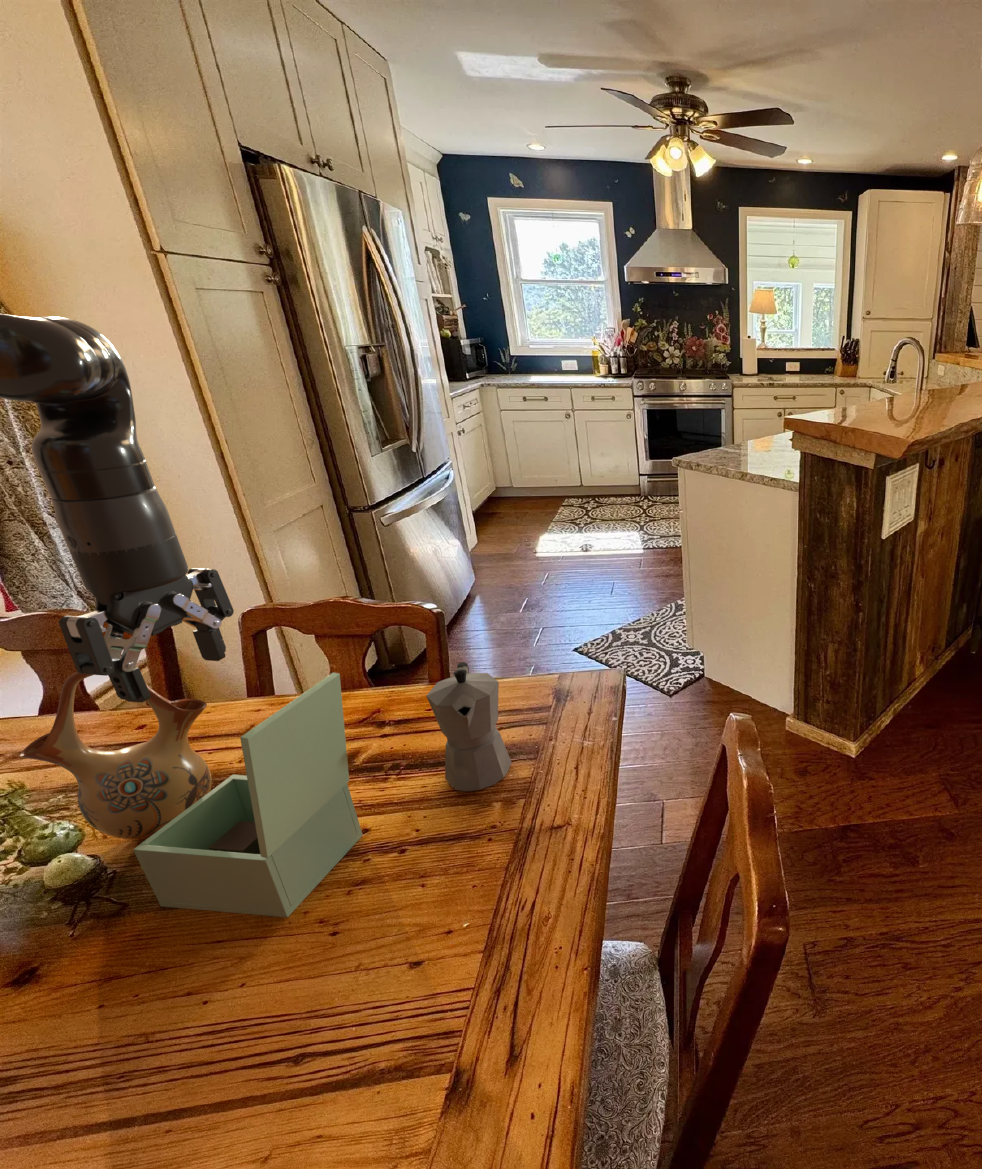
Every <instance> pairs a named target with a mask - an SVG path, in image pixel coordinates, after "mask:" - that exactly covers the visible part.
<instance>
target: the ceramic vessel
mask: <svg viewBox="0 0 982 1169" xmlns="http://www.w3.org/2000/svg"><path fill="white" fill-rule="evenodd" d="M92 676H93V675H90V674H80V673H78V672H77V671H75V672H74V673H72V674H70V675H69V676H68V677H67V678H66V679H65V681H64V682H63V684H62V688H61V692H60V696H59V701H58V706H57V711H56V714H55V715H56V716H55V718H54V722H53V724H52V727H51V729H50V731H49V732H47V733H45V734H43V735H41V736H39V737H38V738H36V739H35V740H33V741H32V742H30V743H29V744H28V745H26V747H25V748H24V749H23V750H22V751H21V752H20V754H19V755H20V756H19V757H22V758H24V759H31V760H35V761H42V762H46V763H50V764H53V765H56V766H59V767H61V768H63V769H65V770H66V771H68V772H70V774H72V775H73V776H74V778H75V780H76V782H77V785H78V786H77V787H78V790H77V805H78V809H79V811H80V814H81V816H82V817H83V819H84V820H85V821H86V822H87V823H88V825H90V826H91V827H92V828H93V829H95V830H96V831H98V832H100V833H102V834H104V835H106V836H109V837H112V838H116V839H121V840H133V841H134V840H135V841H136V840H137V841H138V840H139V841H142V840H146V839H148V838H149V837H150V836H152V835H153V834H154V833H156V832H157V831H158V830H160V829H161V828H162V827H164V826H165V825H166V824H168V823H169V822H170V821H172V820H173V819H174V818H176V817H177V816H178V815H180V814H181V813H182V812H184V811H185V810H186V809H188V808H189V807H190V806H192V805H193V804H194V803H196V802H197V801H198V800H200V799H201V798H202V797H204V796H205V795H206V794H208V793H209V792H210V791H212V785H213V780H212V774H211V770H210V767H209V765H208V763H207V762H206V760H205V759H204V757H202V756H201V754H199V753H198V752H196V751H195V750H194V749H193V748H192V746H191V745H190V742H189V732H190V729H191V727H192V725H193V724H194V722H195V721H196V720H197V719H198V717H199V716H201V714H202V713H203V711H205V709H206V708H207V706H208V705H207V702H206V701H204V700H201V699H197V698H182V699H177V700H169V699H168V698H166V697H165V696H162V695H161V694H160V693H158V692H157V691H156V690H155V689H153V688H151V686H149V685H148V684H147V683H146V685H147V688H148V690H149V693H150V695H151V698H150V699H148V700H146V701H145V702H146V703H147V704H148V705H149V707H150V708H151V710H152V711H153V713H154V714H155V717H156V719H157V722H158V729H157V731H156V733H155V734H154V735H153V736H152V737H151V738H150V739H149V740H147V741H145V742H141V743H137V744H134V745H131V746H130V745H129V746H127V747H123V748H119V749H116V750H100V749H95V748H93V747H90V746H88V745H87V744H86V743H84V742H83V741H82V739H81V738H80V736H79V732H78V730H77V726H76V721H75V714H74V710H75V708H74V705H75V696H76V695H75V694H76V691H77V688H78V685H79V683H80V682H81V681H83V680H85V679H87V678H89V677H92Z"/></svg>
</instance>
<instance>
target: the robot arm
mask: <svg viewBox="0 0 982 1169" xmlns="http://www.w3.org/2000/svg"><path fill="white" fill-rule="evenodd" d="M131 387H132V386H131V383H130V377H129V375H128V371H127V369H126V366H125V364H124V361H123V359H122V357H121V356H120V353H119V352H118V350H117V349H116V348H115V346H114V345H113V344H112V343H111V341H110V340H109V339H108V338H106V337H105V335H104V334H102V333H101V332H99V331H98V330H97V329H95V328H94V327H92V326H90V325H88V324H86V323H84V322H81V321H78V320H75V319H71V318H68V317H61V316H51V315H50V316H21V315H20V316H19V315H13V314H6V313H1V312H0V399H4V400H9V401H10V400H11V401H16V402H22V403H29V404H35V405H36V409H37V413H38V417H39V421H40V429H39V431H38V432H37V433H36V435H34V438H33V439H32V440H31V443H30V444H31V445H30V446H31V453H32V457H33V460H34V462H35V465H36V468H37V470H38V472H39V474H40V477H41V479H42V482H43V483H44V486H45V487H46V491H47V493H48V495H49V498H51V499H50V500H51V503H52V506H53V509H54V515H55V519H56V523H57V525H58V528H59V530H60V532H61V534H62V537H63V539H64V542H65V544H66V546H67V548H68V551H69V553H70V555H71V557H72V560H73V563H74V564H75V567H76V569H77V571H78V574H79V576H80V578H81V581H82V584H83V585H84V587H85V588H86V589H87V591H88V592H90V594H91V595H92V596H93V597H94V599H95V609H94V610H93V611H90V612H87V613H84V614H81V615H64V616H62V617H61V618H60V619H59V621H58V625H59V628H60V630H61V633H62V635H63V638H64V641H65V643H66V645H67V649H68V652H69V654H70V656H71V660H72V662H73V664H74V668H75V671H76V672H78V673H80V674H90V675H92V676H108V678H109V681H110V682H111V685H112V687H113V689H114V691H115V694H116V696H117V697H118V698H119V699H120V700H122V701H123V700H125V701H127V702H129V703H142V704H143V703H144V702H147V701H146V700H148V699H150V698H151V695H150V693H149V690H148V688H147V685H148V684H147V683H146V680H145V678H144V675H143V674H142V672H141V669H140V667H137V664H138V661H139V659H140V654H141V652H142V650H144V649H146V648H147V647H148V644H149V643H150V639H151V637H152V636H156V635H158V634H160V633H162V632H164V631H165V630H166V629H167V628H171V627H176V626H178V625H180V624H183V623H185V624H187V625H189V626H190V627H192V628H195V629H194V630H192V632H191V633H192V634H193V637H194V640H195V642H196V645H197V648H198V650H199V653H200V656H201V658H202V659H203V660H204V661H207V662H210V661H211V662H212V661H213V662H220V661H222V660H223V659H225V658H226V652H227V646H226V643H225V640H224V637H223V635H222V632H221V630H220V627H221V626H222V621H223V620H224V619H226V618H230V617H233V615H234V612H235V611H234V608H233V605H232V603H231V600H230V598H229V595H228V593H227V591H226V588H225V586H224V583H223V581H222V578H221V576H220V574H219V571H218V570H217V569H214V568H205V567H191V568H189V566H188V563H187V561H186V557H185V555H184V552H183V549H182V546H181V544H180V541H179V537H178V536H177V532H176V530H175V527H174V525H173V521H172V518H171V516H170V513H169V511H168V508H167V506H166V504H165V503H164V501H163V499H162V497H161V495H160V494H159V492H158V490H157V488H156V485H155V482H154V480H153V478H152V475H151V472H150V469H149V467H148V464H147V461H146V458H145V455H144V452H143V451H142V448H141V446H140V444H139V441H138V436H137V420H136V413H135V406H134V399H133V398H134V397H133V392H132V388H131ZM193 591H194V593H195V595H196V598H197V600H198V602H199V604H198V603H196V602H194V601H192V600H191V598H192V594H193ZM105 623H106V624H107V627H104V624H105ZM124 633H126V634H129V635H132V636H131V637H130V638H127V639H126V638H124V635H125V634H124ZM146 684H147V685H146Z"/></svg>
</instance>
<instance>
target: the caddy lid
mask: <svg viewBox="0 0 982 1169" xmlns="http://www.w3.org/2000/svg"><path fill="white" fill-rule="evenodd" d="M341 684H342V683H341V674H340V673H338V672H331V673H330V674H329V675H327V676H326V677H325V678H323V679H322V680H320V681H318V682H317V683H316V684H314V685H313V686H311V687H310V688H309V689H307V690H305V691H304V692H303V693H301V694H300V695H299V696H297V697H296V698H294V699H293V700H292V701H290V702H288V703H287V704H286V705H285V706H283V707H281V708H280V709H279V710H277V711H275V712H274V713H273V714H271V715H269V717H266V719H264V720H263V721H261V722H260V723H258V724H257V725H256V726H254V727H253V728H251V729H250V730H248V731H247V732H246V733H244V734H243V735H241V736H240V737H239V739H240V744H241V750H242V757H243V761H244V768H245V773H246V774H245V775H246V776H247V780H248V785H249V791H250V797H251V803H252V809H253V814H254V820H255V826H256V832H257V837H258V843H259V849H260V855H261V857H264V858H268V857H269V856H270V855H272V854H273V853H274V852H275V851H276V850H277V849H278V848H279V847H280V846H281V845H282V844H283V843H284V842H285V841H286V840H287V839H288V838H289V837H291V836H292V835H293V834H294V833H295V832H296V831H297V830H298V829H299V828H300V827H301V826H302V825H303V824H304V823H305V822H306V821H307V820H308V819H310V818H311V817H312V816H313V815H314V814H315V813H316V812H317V811H318V810H319V809H320V808H321V807H322V806H323V805H324V804H325V803H326V802H328V801H329V800H330V799H331V798H332V797H333V796H334V795H335V794H336V793H337V792H338V791H339V790H340V789H341V788H342V787H343V786H344V785H345V784H348V783H349V782H350V776H349V775H350V774H349V762H348V751H347V750H348V749H347V742H346V740H347V739H346V730H345V719H344V717H345V716H344V707H343V696H342V695H343V694H342V685H341Z"/></svg>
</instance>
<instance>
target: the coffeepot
mask: <svg viewBox="0 0 982 1169" xmlns="http://www.w3.org/2000/svg"><path fill="white" fill-rule="evenodd" d="M499 684H500V682H499V680H497V679H496V678H494V677H493V676H492V675H490V674H489V673H488V672H470V670H469V664H468V663H467V662H465V661H460V662H458V663H457V665H456V670H455V671H453V676H451V677H448V678H445V679H442V680H440V681H437V682H436V683H435V684H434V686H433V687H432V688H431V689H430V690H429V692H428V693H427V694H426V699H427V701H428V704H429V706H430V708H431V710H432V712H433V715H434V717H435V720H436V722H437V724H438V727H439V730H440V731H441V733H442V734H443V735H444V736H445V737H446V743H445V752H444V753H445V758H444V759H445V762H444V763H445V764H444V765H445V766H444V767H445V770H444V779H445V780H446V781H447V783H448V784H449V786H450V787H451V788H453V789H454V790H455V791H461V792H475V791H480V790H484V789H487V788H489V787H491V786H494V785H496V784H498V782H500V781H502V780H503V779H504V778H505V777H506V775H508V773H509V770H510V768H511V765H512V763H513V762H512V759H511V757H510V755H509V753H508V750H507V748H506V745H505V743H504V740H503V737H502V735H501V733H500V731H499V730H498V729H497V723H498V721H499V688H500V687H499V686H500V685H499Z"/></svg>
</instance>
